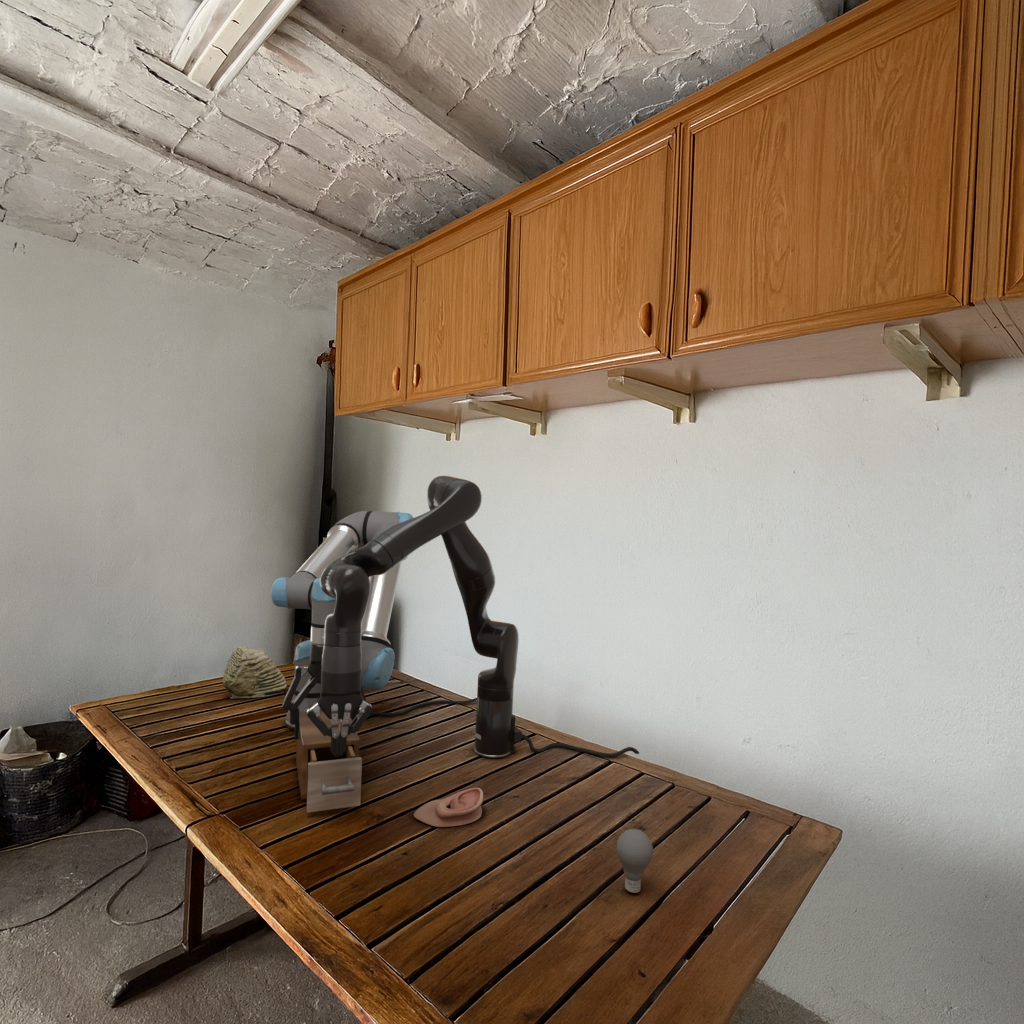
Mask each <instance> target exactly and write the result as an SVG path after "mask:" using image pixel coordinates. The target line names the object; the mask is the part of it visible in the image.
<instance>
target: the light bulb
mask: <svg viewBox="0 0 1024 1024" xmlns="http://www.w3.org/2000/svg"><path fill="white" fill-rule="evenodd" d="M615 849H616V854H617V857H618V859H619V861H620V863H621V865H622V867H623V873H624V874H623V875H624V876H625V878H624V888H625V890H627V891H628V892H630V893H634V894H635V893H639V892H640V891H641V889H642V887H641V886H642V879H643V877H644V875H645V871H646V868H647V867H648V866H649V864H650V863H651V861H652V859H653V855H654V847H653V843H652V841H651V838H649V836H648V835H647V834H646V833H645V832H643V831H642V830H641V829H636V828H629V829H627V830H625V831H623V832H622V833H621V834H620V835H619V837H618V839H617V841H616V847H615Z"/></svg>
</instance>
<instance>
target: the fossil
mask: <svg viewBox="0 0 1024 1024" xmlns="http://www.w3.org/2000/svg"><path fill="white" fill-rule="evenodd" d="M222 676H223V677H222V685H223V687H224V688H225V690H226V691H228V693H229V698H230V699H250V698H264V697H271V696H275V695H281V694H284V693H285V691H286V689H287V687H288V686H287V680H286V678H285V676H284V674H283V673H282V672H281V669H279V668H278V667H277V665H276V663H275V662H274V660H273V659H272V658H271V657H270V656H269V655H268V654H267V653H266V652H265V650H264V649H263V648H260V647H258V648H251V647H247V646H246V647H245V646H238V647H237V648H236V649H235V650H233V651H232V653H231V656H230V657H229V659H228V660H227V663H226V666H225V668H224V671H223V675H222Z"/></svg>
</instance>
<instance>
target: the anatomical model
mask: <svg viewBox="0 0 1024 1024" xmlns="http://www.w3.org/2000/svg"><path fill="white" fill-rule="evenodd" d="M483 802H484V792H483V790H482V788H480V787H471V788H467V789H464V790H461V791H458V792H456V793H454V794H451V795H449V796H446V797H444V798H441V799H440V798H439V799H434V800H430V801H429V802H427V803H424V804H423V805H421V806H419V808H418V809H417V810H415V811H414V813H413V817H414V818H415V819H416V820H417V821H419V822H422V823H424V824H426V825H428V826H432V827H434V828H435V827H436V828H449V827H450V828H451V827H457V826H464V825H467V824H471V823H474V822H475V821H477V820H479V819H480V818H481V817H482V814H483V809H482V805H483Z"/></svg>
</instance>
